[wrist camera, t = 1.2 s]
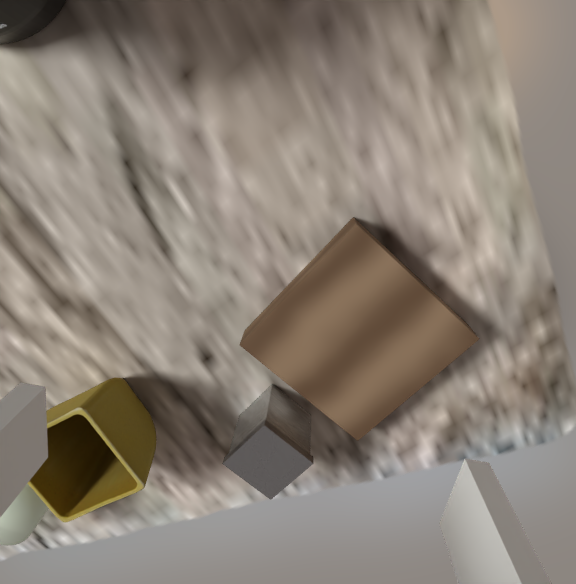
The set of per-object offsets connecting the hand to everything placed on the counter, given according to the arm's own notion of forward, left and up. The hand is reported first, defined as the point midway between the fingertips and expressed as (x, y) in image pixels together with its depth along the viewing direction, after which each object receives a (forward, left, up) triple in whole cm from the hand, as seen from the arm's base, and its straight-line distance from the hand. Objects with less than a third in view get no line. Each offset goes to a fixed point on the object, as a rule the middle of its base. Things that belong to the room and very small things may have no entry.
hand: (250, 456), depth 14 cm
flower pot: (-2, -23, -26) cm, 35 cm away
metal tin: (+10, -13, -25) cm, 30 cm away
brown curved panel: (+9, -1, -25) cm, 27 cm away
